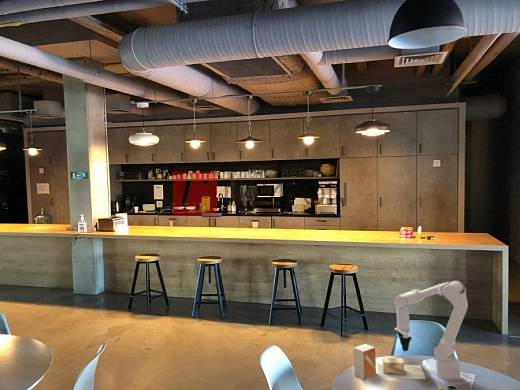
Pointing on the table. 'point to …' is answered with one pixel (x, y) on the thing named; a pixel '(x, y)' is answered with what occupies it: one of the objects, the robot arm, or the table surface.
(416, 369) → the board
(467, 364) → the table surface
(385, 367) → the block
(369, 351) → the small box
